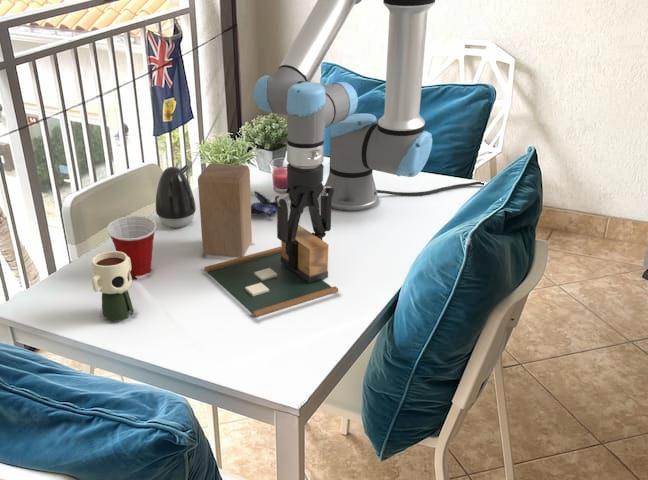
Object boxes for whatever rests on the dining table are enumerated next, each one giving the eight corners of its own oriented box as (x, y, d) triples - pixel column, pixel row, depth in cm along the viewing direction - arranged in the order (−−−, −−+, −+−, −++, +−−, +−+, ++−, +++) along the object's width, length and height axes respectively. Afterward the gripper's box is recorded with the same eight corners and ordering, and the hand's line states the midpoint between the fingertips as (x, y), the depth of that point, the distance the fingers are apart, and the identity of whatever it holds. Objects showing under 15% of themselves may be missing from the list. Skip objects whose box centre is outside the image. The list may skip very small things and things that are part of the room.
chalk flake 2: (261, 284, 152) (261, 282, 151) (269, 291, 149) (269, 289, 149) (245, 289, 150) (244, 287, 150) (252, 296, 147) (252, 293, 147)
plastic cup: (119, 289, 153) (112, 239, 146) (109, 268, 161) (101, 220, 155) (167, 279, 156) (162, 230, 150) (154, 259, 165) (149, 212, 158)
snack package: (254, 201, 194) (224, 213, 187) (256, 180, 190) (227, 191, 183) (286, 219, 189) (257, 232, 181) (290, 197, 185) (260, 210, 177)
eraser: (299, 256, 162) (299, 224, 158) (328, 277, 153) (329, 244, 149) (280, 261, 160) (280, 229, 156) (308, 283, 151) (309, 249, 147)
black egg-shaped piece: (205, 222, 182) (201, 165, 174) (176, 235, 176) (170, 177, 168) (178, 212, 188) (173, 157, 180) (149, 225, 181) (142, 168, 173)
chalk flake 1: (269, 270, 157) (269, 267, 157) (277, 276, 155) (277, 273, 155) (254, 274, 156) (254, 272, 155) (261, 280, 153) (261, 278, 153)
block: (243, 261, 163) (239, 179, 153) (202, 257, 165) (196, 176, 154) (252, 243, 172) (250, 164, 161) (213, 240, 173) (208, 161, 162)
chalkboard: (280, 253, 167) (280, 246, 166) (338, 295, 149) (338, 288, 148) (204, 273, 158) (204, 266, 157) (256, 321, 141) (256, 313, 140)
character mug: (114, 332, 138) (104, 274, 131) (87, 323, 141) (76, 265, 134) (148, 307, 146) (141, 251, 139) (122, 299, 149) (114, 244, 142)
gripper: (276, 176, 137) (277, 281, 150) (351, 160, 145) (346, 261, 157) (258, 165, 143) (260, 267, 155) (331, 151, 150) (327, 249, 163)
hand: (303, 264), depth 156 cm, fingers closed on eraser, 5 cm apart
